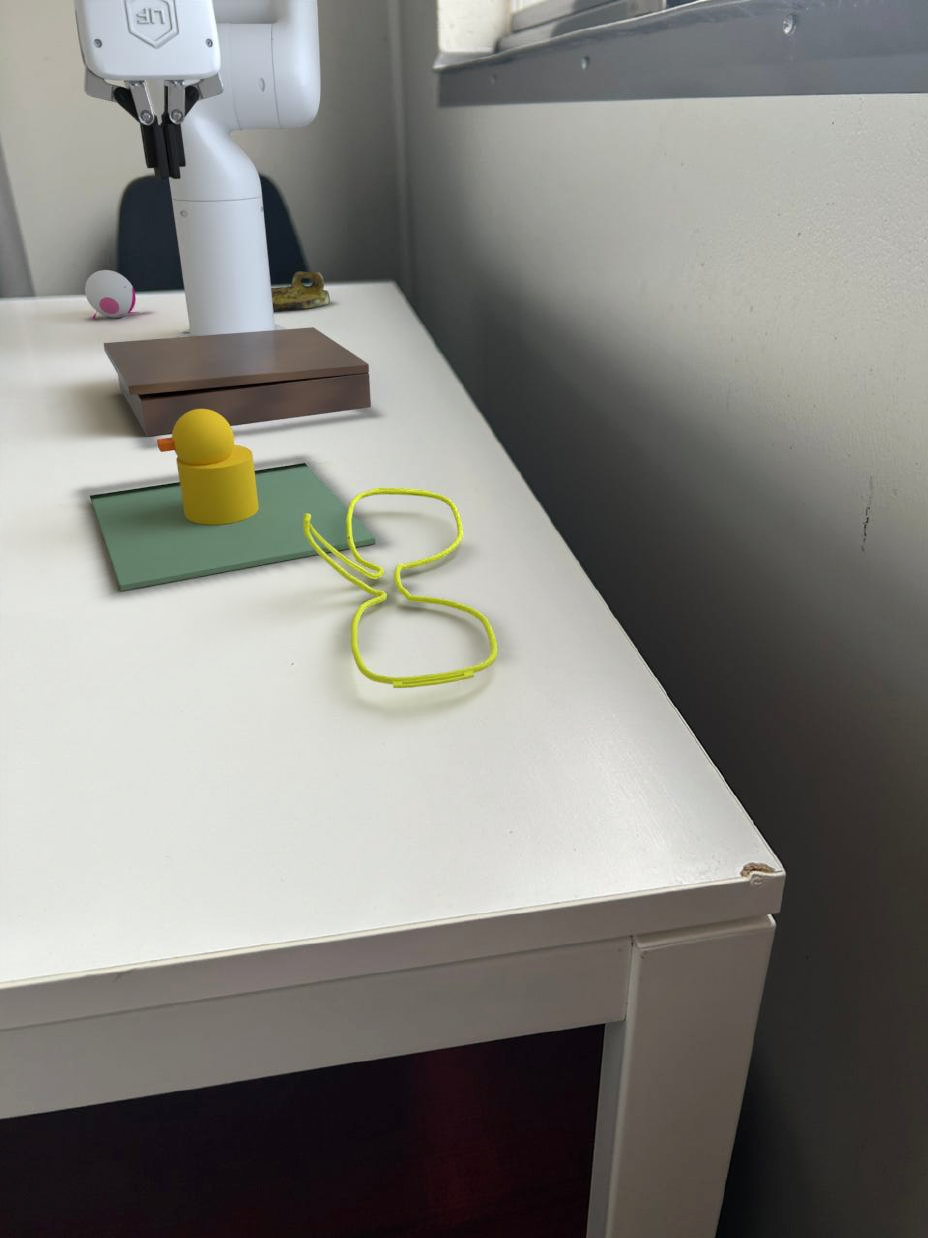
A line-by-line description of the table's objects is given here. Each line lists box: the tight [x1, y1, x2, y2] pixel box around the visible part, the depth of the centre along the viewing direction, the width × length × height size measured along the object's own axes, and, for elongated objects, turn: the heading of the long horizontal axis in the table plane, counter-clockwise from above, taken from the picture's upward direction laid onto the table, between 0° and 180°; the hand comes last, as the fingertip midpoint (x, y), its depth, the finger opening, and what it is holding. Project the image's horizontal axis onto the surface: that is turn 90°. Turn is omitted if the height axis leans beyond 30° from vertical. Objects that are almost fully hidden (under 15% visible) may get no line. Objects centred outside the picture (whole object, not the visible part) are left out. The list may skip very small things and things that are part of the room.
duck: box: [156, 409, 259, 525], centre depth 66 cm, size 6×5×7 cm
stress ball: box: [84, 269, 139, 320], centre depth 127 cm, size 8×8×7 cm
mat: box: [89, 462, 377, 592], centre depth 68 cm, size 18×16×1 cm
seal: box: [271, 270, 331, 312], centre depth 132 cm, size 9×5×15 cm
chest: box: [117, 372, 372, 438], centre depth 91 cm, size 20×17×4 cm
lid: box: [103, 326, 370, 395], centre depth 90 cm, size 20×17×1 cm
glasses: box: [303, 487, 499, 689], centre depth 57 cm, size 25×10×5 cm, turn 7°
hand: (167, 177), depth 82 cm, fingers closed
